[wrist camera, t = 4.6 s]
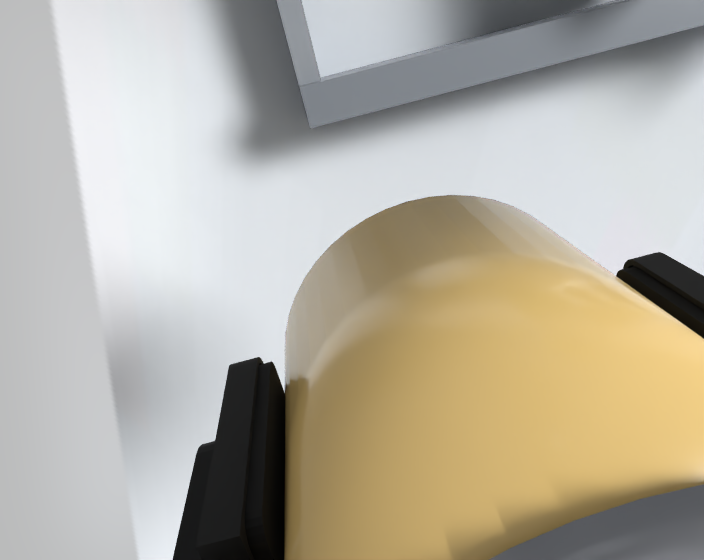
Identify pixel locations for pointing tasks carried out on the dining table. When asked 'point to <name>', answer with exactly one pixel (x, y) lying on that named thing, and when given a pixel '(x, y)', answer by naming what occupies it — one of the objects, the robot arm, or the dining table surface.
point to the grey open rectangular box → (475, 55)
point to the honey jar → (486, 399)
